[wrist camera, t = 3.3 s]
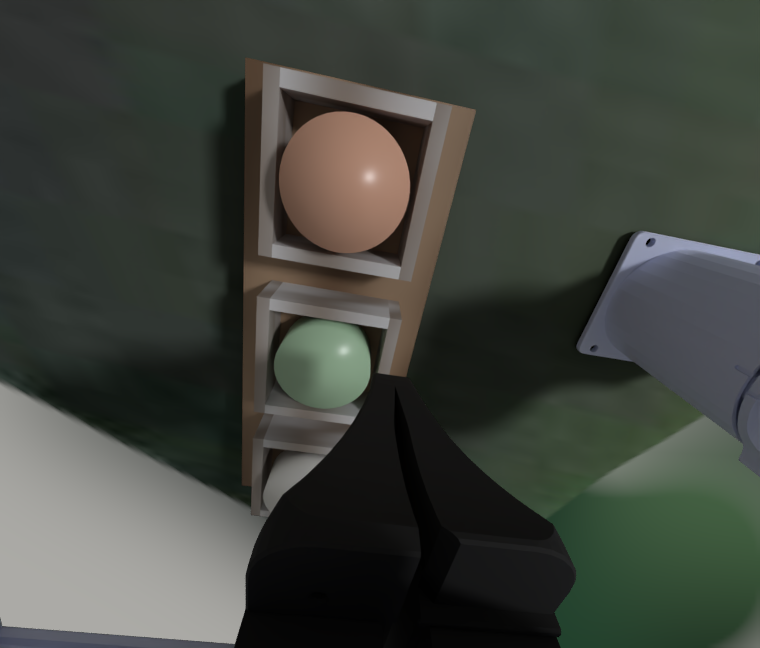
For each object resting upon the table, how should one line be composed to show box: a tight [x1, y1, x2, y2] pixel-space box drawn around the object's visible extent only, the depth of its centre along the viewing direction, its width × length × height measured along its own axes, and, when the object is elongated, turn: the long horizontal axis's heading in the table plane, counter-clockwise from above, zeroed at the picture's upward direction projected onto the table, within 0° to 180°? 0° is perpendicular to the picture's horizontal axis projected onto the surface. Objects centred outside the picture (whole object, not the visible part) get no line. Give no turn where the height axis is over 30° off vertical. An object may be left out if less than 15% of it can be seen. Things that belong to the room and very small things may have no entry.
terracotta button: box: [279, 112, 410, 253], centre depth 14 cm, size 5×5×2 cm
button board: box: [242, 57, 476, 517], centre depth 19 cm, size 10×26×4 cm, turn 169°
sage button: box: [274, 316, 371, 409], centre depth 18 cm, size 5×5×2 cm
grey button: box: [263, 450, 326, 512], centre depth 21 cm, size 5×5×2 cm
